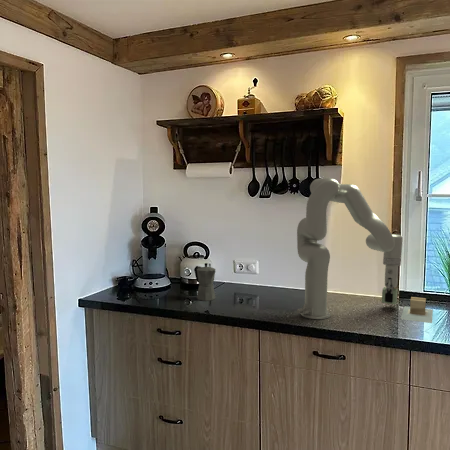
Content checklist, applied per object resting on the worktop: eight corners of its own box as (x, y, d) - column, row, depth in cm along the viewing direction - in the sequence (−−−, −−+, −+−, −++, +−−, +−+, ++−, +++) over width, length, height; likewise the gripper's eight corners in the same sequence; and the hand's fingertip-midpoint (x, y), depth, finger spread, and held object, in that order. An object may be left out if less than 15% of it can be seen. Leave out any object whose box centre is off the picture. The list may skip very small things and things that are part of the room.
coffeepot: (221, 299, 220) (222, 263, 218) (207, 302, 214) (207, 266, 212) (201, 293, 231) (201, 259, 230) (187, 296, 225) (187, 261, 223)
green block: (395, 304, 198) (396, 291, 197) (381, 302, 200) (382, 289, 200) (396, 301, 203) (397, 288, 203) (383, 299, 206) (383, 287, 205)
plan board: (432, 324, 181) (432, 323, 181) (400, 320, 186) (400, 319, 186) (432, 310, 201) (432, 309, 201) (404, 307, 206) (404, 306, 206)
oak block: (424, 315, 192) (425, 301, 192) (409, 313, 195) (410, 299, 194) (425, 311, 198) (425, 298, 197) (410, 309, 200) (411, 296, 200)
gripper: (399, 265, 191) (396, 306, 192) (402, 259, 206) (399, 297, 208) (381, 263, 194) (378, 303, 196) (385, 258, 210) (382, 295, 211)
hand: (389, 300), depth 202 cm, fingers closed on green block, 6 cm apart
